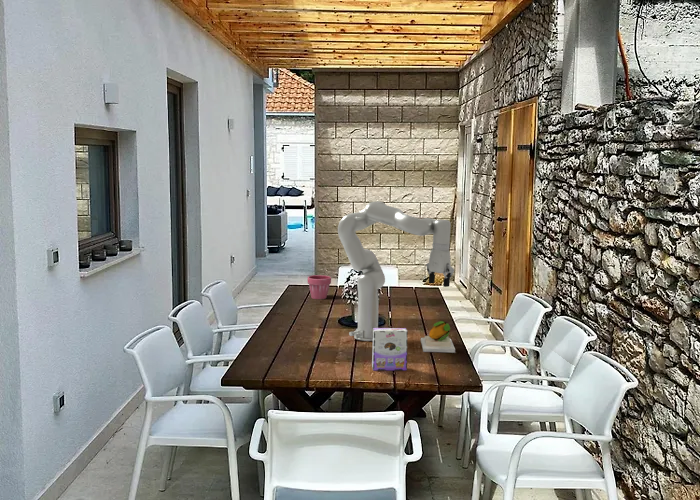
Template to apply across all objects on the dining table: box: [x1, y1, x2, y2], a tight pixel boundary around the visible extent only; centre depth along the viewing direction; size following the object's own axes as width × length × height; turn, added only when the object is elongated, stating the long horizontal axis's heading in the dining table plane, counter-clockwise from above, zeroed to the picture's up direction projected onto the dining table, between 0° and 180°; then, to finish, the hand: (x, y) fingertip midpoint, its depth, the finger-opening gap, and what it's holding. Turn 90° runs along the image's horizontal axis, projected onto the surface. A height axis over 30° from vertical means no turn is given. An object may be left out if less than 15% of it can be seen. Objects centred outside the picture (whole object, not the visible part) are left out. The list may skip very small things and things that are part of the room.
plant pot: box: [307, 274, 332, 300], centre depth 456 cm, size 14×14×13 cm
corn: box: [428, 320, 451, 341], centre depth 343 cm, size 7×8×20 cm
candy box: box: [371, 327, 409, 371], centre depth 305 cm, size 14×6×16 cm, turn 92°
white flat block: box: [420, 335, 456, 354], centre depth 344 cm, size 20×14×4 cm
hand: (438, 284), depth 341 cm, fingers open, 9 cm apart
